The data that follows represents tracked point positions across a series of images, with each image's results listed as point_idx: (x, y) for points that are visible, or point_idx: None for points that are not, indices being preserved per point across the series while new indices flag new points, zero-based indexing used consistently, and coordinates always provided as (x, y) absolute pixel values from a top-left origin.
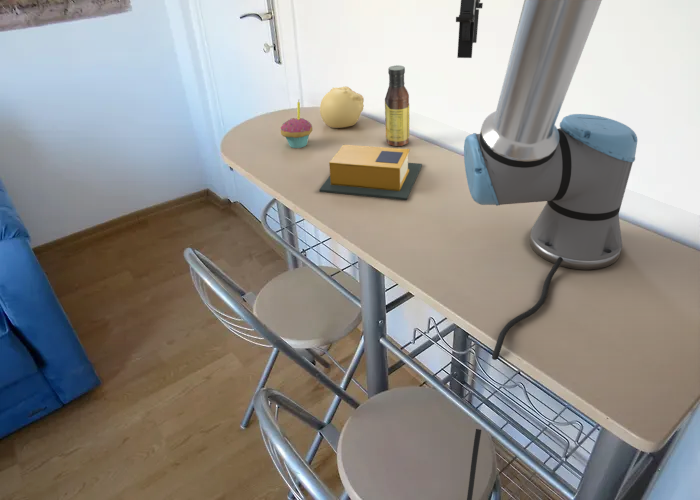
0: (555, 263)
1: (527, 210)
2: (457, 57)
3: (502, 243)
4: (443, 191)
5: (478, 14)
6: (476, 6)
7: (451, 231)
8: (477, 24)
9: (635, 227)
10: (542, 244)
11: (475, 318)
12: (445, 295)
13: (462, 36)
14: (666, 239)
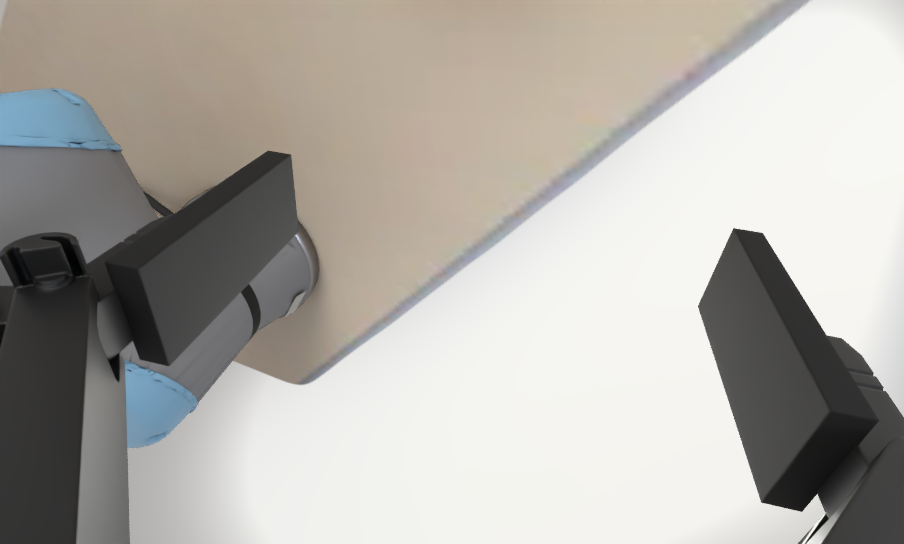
0: (164, 212)
1: (357, 204)
2: (265, 152)
3: (221, 136)
4: (421, 5)
5: (749, 463)
6: (823, 521)
7: (228, 28)
8: (729, 394)
9: (336, 347)
10: (187, 204)
11: (5, 67)
12: (26, 14)
13: (144, 231)
14: (311, 368)
